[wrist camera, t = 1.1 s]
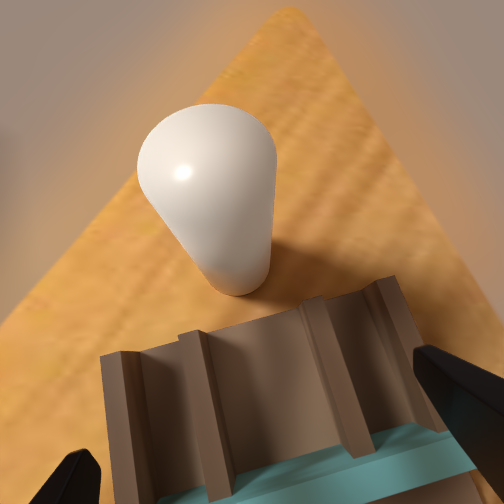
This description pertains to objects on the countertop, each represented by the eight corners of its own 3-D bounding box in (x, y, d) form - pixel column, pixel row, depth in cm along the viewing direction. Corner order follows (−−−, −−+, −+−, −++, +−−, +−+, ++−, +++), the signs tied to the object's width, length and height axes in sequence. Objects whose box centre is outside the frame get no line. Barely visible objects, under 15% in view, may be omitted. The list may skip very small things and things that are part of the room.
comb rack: (386, 284, 23) (415, 266, 18) (481, 512, 18) (550, 562, 14) (112, 360, 22) (74, 361, 17) (143, 620, 17) (101, 711, 13)
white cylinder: (283, 260, 23) (305, 153, 11) (238, 310, 22) (207, 253, 10) (234, 219, 25) (206, 83, 12) (189, 265, 24) (108, 166, 11)
